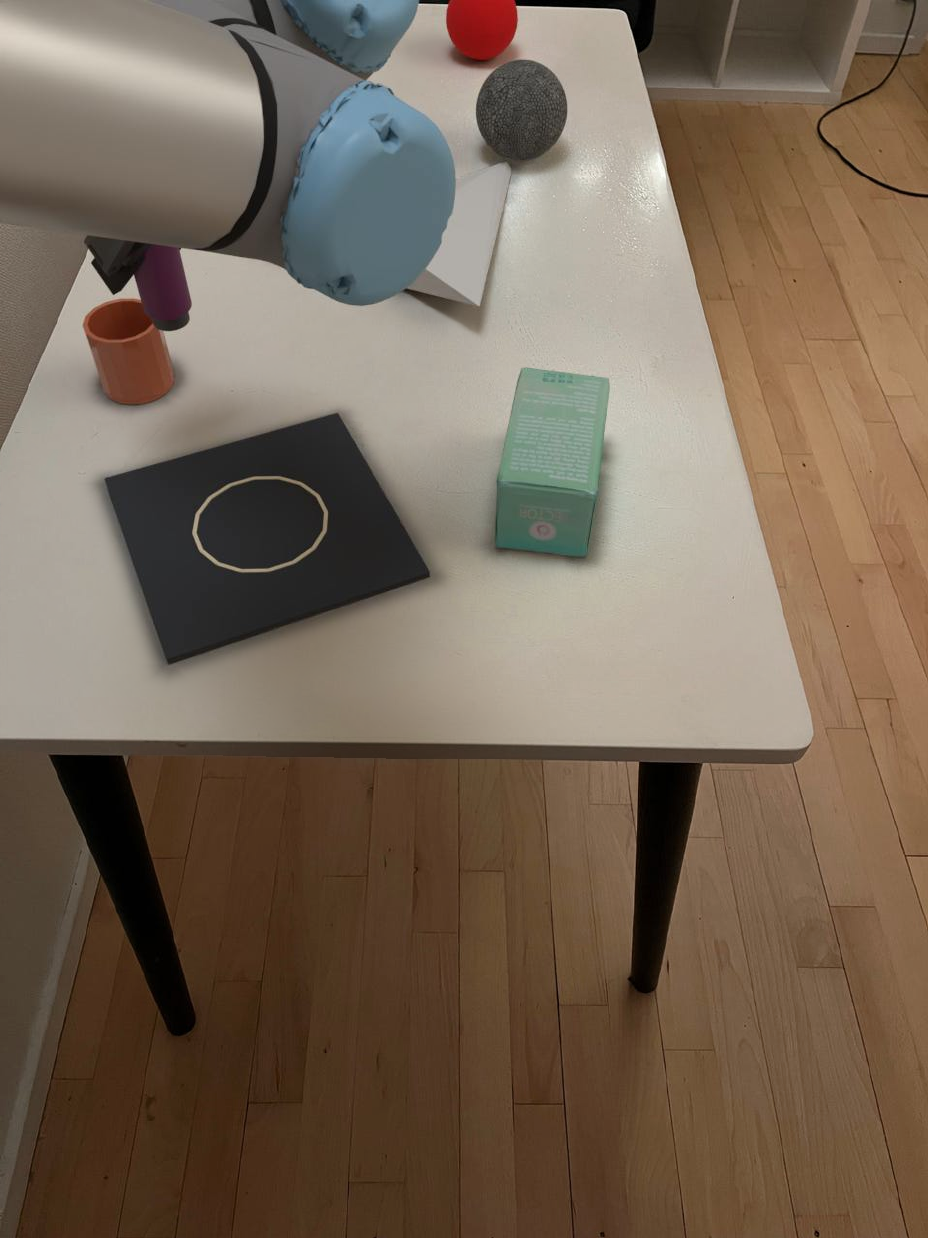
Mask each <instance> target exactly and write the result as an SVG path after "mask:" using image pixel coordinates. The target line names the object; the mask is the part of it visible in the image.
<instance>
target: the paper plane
mask: <svg viewBox="0 0 928 1238" xmlns="http://www.w3.org/2000/svg"><path fill="white" fill-rule="evenodd" d="M512 172H513V171H512V168H511V166H510V164H509V163H508V161H507V160H504V161H502V162H499V163H496V164H494V165H490V166H487V167H485V168H482V169H479V170H476V171H474V172H470V173H468V174H465V175H462V176H460V177H457V178H456V177H455V178H456V190H455V200H454V207H453V212H452V215H451V216H450V217H449V219H448V222H447V228H446V229H445V231H444V232H443V234H442V243H441V245H440V247H439V249H438V251H437V252H436V254H435V256H434V257H433V259H432V260H431V262H430V263H429V265H428V266H427V268H426V269H425V270H424V271H423V272H422V274H421V275H420V276H419V277H418V278H417V279H416V280H415V281H414V282H413V283H412V284H411V285H409V286H408V287H407V288H406V290H411V291H416V292H420V293H423V294H428V295H431V296H435V297H439V298H444V299H448V300H452V301H455V302H460V303H464V304H468V305H471V306H476V307H481V302H482V297H483V295H484V290H485V285H486V281H487V277H488V273H489V268H490V266H491V260H492V256H493V252H494V247H495V243H496V239H497V235H498V231H499V226H500V222H501V217H502V214H503V209H504V206H505V202H506V196H507V193H508V188H509V184H510V180H511V175H512Z"/></svg>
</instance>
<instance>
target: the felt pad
mask: <svg viewBox="0 0 928 1238" xmlns="http://www.w3.org/2000/svg"><path fill="white" fill-rule="evenodd" d="M104 482H105V485H106V489H107V492H108V494H109V497H110V500H111V502H112V505H113V508H114V511H115V514H116V517H117V520H118V523H119V525H120V528H121V531H122V535H123V538H124V540H125V543H126V547H127V549H128V552H129V554H130V558H131V560H132V564H133V566H134V569H135V573H136V576H137V579H138V581H139V584H140V587H141V590H142V593H143V596H144V599H145V601H146V604H147V608H148V610H149V613H150V617H151V619H152V622H153V625H154V628H155V631H156V633H157V636H158V639H159V642H160V645H161V648H162V651H163V654H164V657H165V660H166V662H167V664H173V663H175V662H178V661H182V660H184V659H187V658H191V657H193V656H196V655H199V654H202V653H206V652H209V651H211V650H213V649H217V648H220V647H224V646H226V645H229V644H232V643H235V642H238V641H241V640H244V639H247V638H250V637H254V636H256V635H259V634H262V633H265V632H268V631H271V630H274V629H278V628H280V627H283V626H286V625H289V624H292V623H295V622H299V621H301V620H304V619H308V618H310V617H314V616H315V615H319V614H323V613H325V612H328V611H331V610H335V609H338V608H341V607H344V606H346V605H349V604H353V603H355V602H358V601H360V600H364V599H368V598H370V597H373V596H375V595H380V594H382V593H386V592H388V591H391V590H394V589H397V588H400V587H404V586H406V585H410V584H412V583H415V582H419V581H421V580H424V579H428V578H430V577H431V572H430V569H429V568H428V566H427V565H426V563H425V561H424V559H423V557H422V555H421V553H420V552H419V551H418V548H417V547H416V545H415V544H414V541H413V540H412V538H411V536H410V535H409V533H408V532H407V529H406V528H405V526H404V524H403V523H402V521H401V519H400V517H399V516H398V514H397V512H396V511H395V509H394V507H393V505H392V504H391V502H390V500H389V499H388V496H387V495H386V493H385V492H384V490H383V488H382V487H381V485H380V483H379V481H378V480H377V478H376V475H374V472H373V470H371V467H370V465H369V464H368V462H367V460H366V459H365V456H364V455H363V453H362V451H361V450H360V448H359V447H358V445H357V443H356V441H355V439H354V438H353V436H352V434H351V433H350V431H349V430H348V428H347V426H346V424H345V422H344V421H343V419H342V417H341V415H340V414H339V412H335V413H331V414H328V415H324V416H320V417H317V418H313V419H309V420H307V421H303V422H299V423H296V424H292V425H288V426H285V427H281V428H278V429H273V430H271V431H268V432H267V431H266V432H264V433H261V434H257V435H253V436H249V437H246V438H243V439H239V440H235V441H232V442H229V443H224V444H222V445H217V446H214V447H210V448H207V449H203V450H200V451H196V452H192V453H189V454H186V455H182V456H178V457H174V458H172V459H171V458H170V459H168V460H164V461H161V462H157V463H153V464H150V465H145V466H142V467H140V468H136V469H132V470H129V471H126V472H122V473H121V472H120V473H118V474H115V475H111V476H108V477H104Z"/></svg>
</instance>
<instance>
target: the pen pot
mask: <svg viewBox="0 0 928 1238" xmlns="http://www.w3.org/2000/svg"><path fill="white" fill-rule="evenodd" d="M82 328H83V331H84V334H85V338H86V341H87V343H88V346H89V350H90V353H91V357H92V359H93V362H94V366H95V368H96V371H97V374H98V377H99V380H100V384H101V387H102V389H103V392H104V394H105V395H106V396H107V397H108V398H109V399H110V400H112V401H114V402H116V403H119V404H123V405H134V406H135V405H143V404H147V403H150V402H154V401H156V400H158V399H160V398H162V397H163V396H165V395H166V394H167V393H168V392H169V391H170V390H171V389H172V388H173V385H174V383H175V371H174V367H173V363H172V359H171V355H170V352H169V348H168V344H167V340H166V336H165V333H164V332H165V331H162V330H159V329H157V328H156V327H155V326H154V325H153V322H152V318H150V317H148V316H147V315H146V314H145V312H144V310H143V306H142V302H141V299H139V298H116V299H112V300H108V301H105V302H103V303H101V304H99V305H97V306H95V307H94V308H92V309H91V310H90V311H89V312H88V313H87V314H86V315H85V316H84V319H83V323H82Z"/></svg>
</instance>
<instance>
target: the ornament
mask: <svg viewBox="0 0 928 1238" xmlns="http://www.w3.org/2000/svg"><path fill="white" fill-rule="evenodd" d="M445 13H446V14H445V25H446V30H447V33H448V36H449V39H450V40H451V43H452V44H453V45H454V47H455V48H456V49H457V51H458V52H460V53H461V54H463V55H464V56H466V57H467V58H470V59H473V60H477V61H486V60H490V59H493V58H497V57H498V56H500V55H501V54H502V53H503V52H505V50H506V49H507V48H509V46H511V43H512V41H513V40H514V38H515V35H516V32H517V29H518V24H519V17H518V7H517V3H516V1H515V0H449V1H448V4H447V7H446V12H445Z"/></svg>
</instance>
